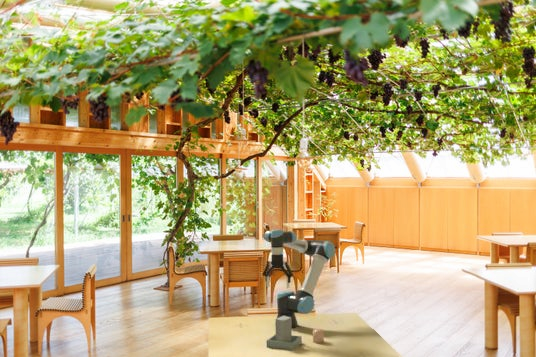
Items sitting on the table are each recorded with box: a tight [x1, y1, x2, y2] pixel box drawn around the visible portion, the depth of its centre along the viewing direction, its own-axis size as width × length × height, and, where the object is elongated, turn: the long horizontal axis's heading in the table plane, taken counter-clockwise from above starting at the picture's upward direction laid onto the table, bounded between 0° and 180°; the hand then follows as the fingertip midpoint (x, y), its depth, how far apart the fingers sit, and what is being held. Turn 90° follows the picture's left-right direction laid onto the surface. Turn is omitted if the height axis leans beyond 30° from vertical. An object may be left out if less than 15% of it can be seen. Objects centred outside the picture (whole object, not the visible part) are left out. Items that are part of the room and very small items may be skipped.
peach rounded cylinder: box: [312, 328, 325, 344], centre depth 306 cm, size 6×6×7 cm
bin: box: [266, 333, 303, 351], centre depth 301 cm, size 17×15×4 cm
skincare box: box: [275, 316, 293, 343], centre depth 301 cm, size 8×7×16 cm
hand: (278, 287), depth 321 cm, fingers open, 13 cm apart
